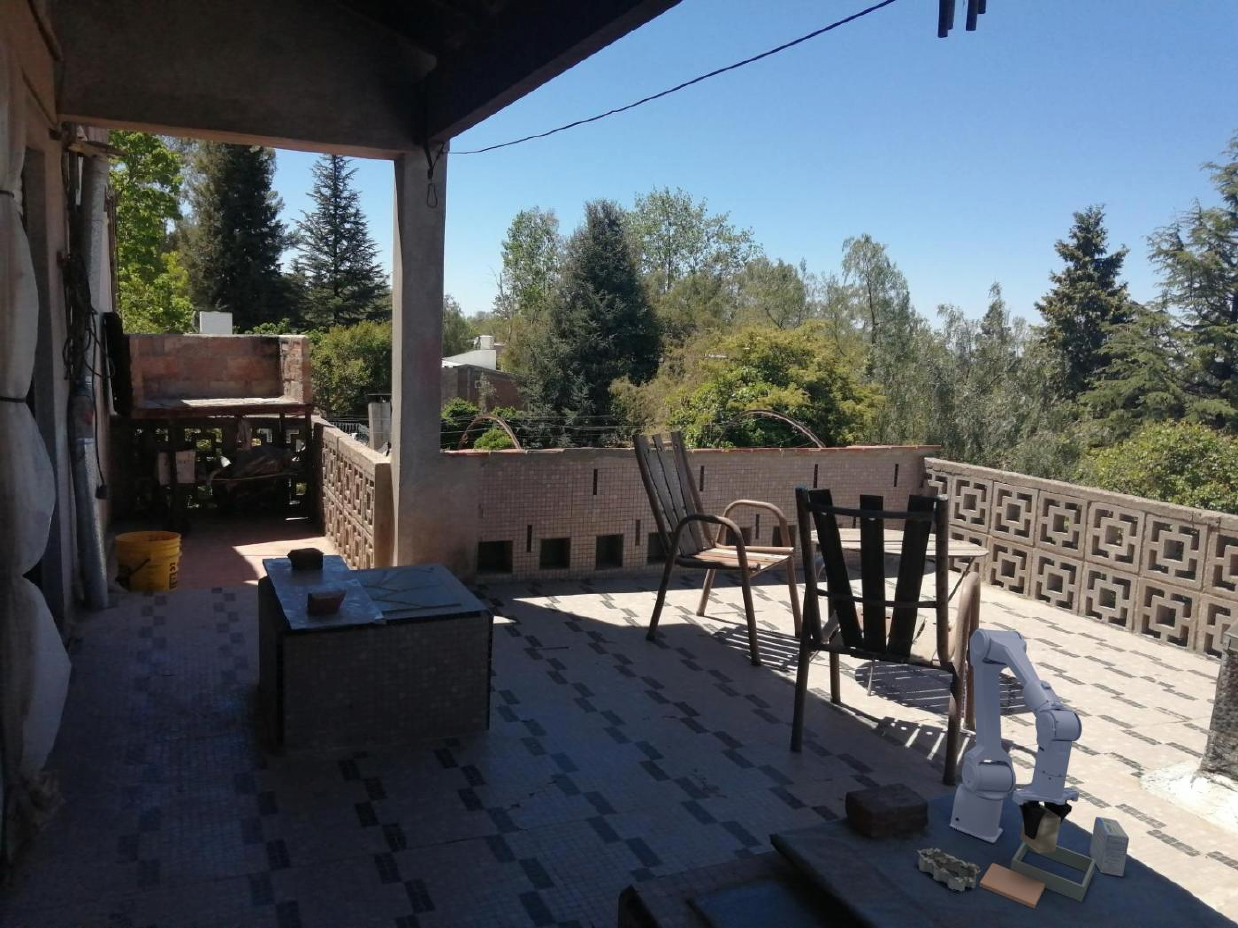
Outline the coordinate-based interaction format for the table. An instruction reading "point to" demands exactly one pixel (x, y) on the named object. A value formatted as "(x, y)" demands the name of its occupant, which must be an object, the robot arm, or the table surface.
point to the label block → (1044, 833)
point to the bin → (1053, 880)
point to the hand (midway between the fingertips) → (1038, 835)
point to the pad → (1012, 885)
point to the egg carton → (940, 862)
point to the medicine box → (1109, 846)
